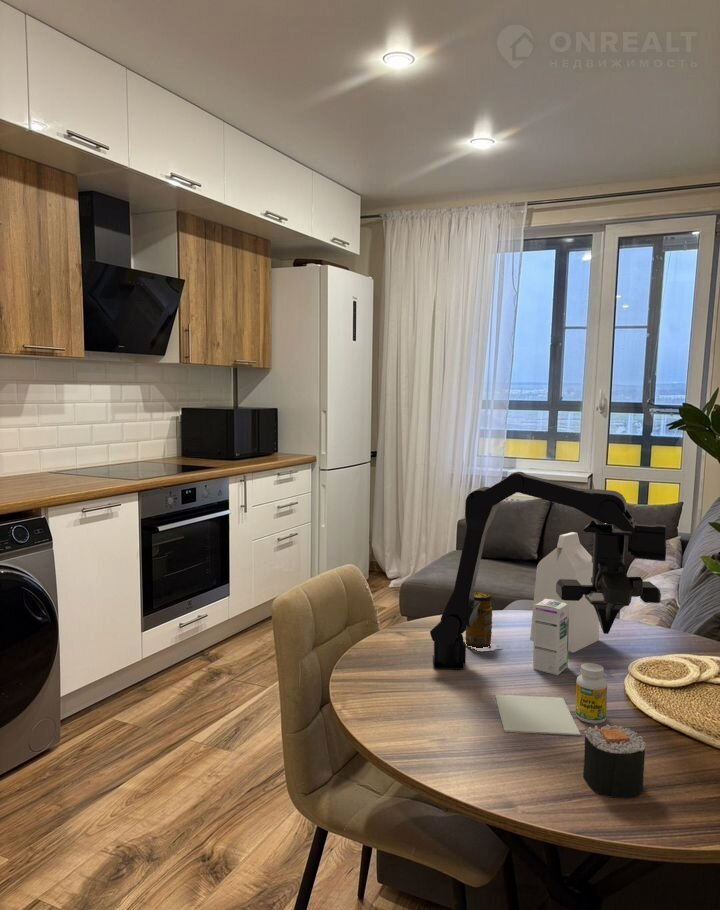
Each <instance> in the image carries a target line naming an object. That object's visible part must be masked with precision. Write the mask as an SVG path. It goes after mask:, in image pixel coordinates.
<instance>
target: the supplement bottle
mask: <svg viewBox="0 0 720 910" xmlns="http://www.w3.org/2000/svg"><path fill="white" fill-rule="evenodd" d="M579 672H580V675H578V676H577V678H576V681H575V683H576V685H575V686H576V687H575V689H576V690H575V691H576V692H575V716H576V717H577V718H578V719H579V720H580V721H581V722H584V723H587V724H592V725H596V724H602V723H605V721H606V719H607V708H608V707H607V704H608V701H607V700H608V682H607V680H606V679H605V678H604V676H605V675H604V672H605V669H604V667H603V666H602V665H600V664H597V663H593V662H585V663H582V664H581V665H580V671H579Z"/></svg>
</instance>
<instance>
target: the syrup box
mask: <svg viewBox="0 0 720 910" xmlns="http://www.w3.org/2000/svg"><path fill="white" fill-rule="evenodd" d="M568 630H569V603H566V602H563V601H559V600H552V599H544V600H543V601H541V602H539V603H537V604H536V605H534V640H533V651H532V652H533V660H532V661H533V663H532V668H533V669H534V670H535V671H536V670H537V671H540V672H542V673H547V674H550V675H555V676H559V675H560V674H561V673H562V672H563V671H564V670H566V669H567V668H568V667H569V651H568Z"/></svg>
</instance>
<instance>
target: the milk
mask: <svg viewBox="0 0 720 910" xmlns="http://www.w3.org/2000/svg"><path fill="white" fill-rule="evenodd" d="M592 557H593V555H591V554H590V553H589V552H588V551H587V549H586V547H585V548H584V546H583V545H582V544H581V542H580V538H579V534H578V532H574V531H570V532H568V533H563V534H560V535H559V537H558V540H557V545H556V548H554V549H553V550H552V551H551V552H549V553H547V554H546V556H544V557H543V558H541V560H540V561H539V562H538V564H537V566H536V573H535V583H534V593H533V606H532V615H531V627H530V636H529V639H530V640H532V639H533V640H532V641H534V605H536V604H537V603H539V602H541V601H543V600H544V599H552V600H559V601H563V602H566V603H569V630H568V652H569V653H576V652H578V651H579V650H582V649H583V648H586V647H588V646H590V645H591V644H594V643H596V642H598V641H599V640H600V622H599V619H598V616H597V613H596V610H595V608H594V606H593V605H592V604H590V603H589V601H588V600H587V599H586V598H585V595H583V597H582V598H581V599H580V600H579V601H567V600H562V599H561V598H560V597H559V595H558V594H557V593H556V583H557V582H558V580H559V579H570V580H577V581H578V582H579V583H580V584H581V585H592V582H591V577H592V572H593V563H592ZM597 591H598V590H597Z"/></svg>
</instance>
